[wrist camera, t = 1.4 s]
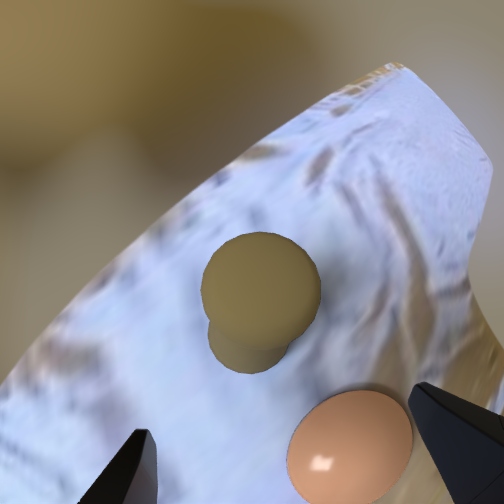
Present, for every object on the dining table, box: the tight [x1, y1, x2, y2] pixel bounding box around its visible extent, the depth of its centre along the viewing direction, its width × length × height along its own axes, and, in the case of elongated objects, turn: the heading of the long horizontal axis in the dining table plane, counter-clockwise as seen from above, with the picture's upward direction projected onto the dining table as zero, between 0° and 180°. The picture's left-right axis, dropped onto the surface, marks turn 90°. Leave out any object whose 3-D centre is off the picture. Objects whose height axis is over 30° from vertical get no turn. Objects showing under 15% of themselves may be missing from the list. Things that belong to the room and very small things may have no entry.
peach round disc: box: [286, 390, 413, 504], centre depth 17 cm, size 10×10×1 cm
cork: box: [201, 232, 321, 374], centre depth 16 cm, size 6×6×11 cm
